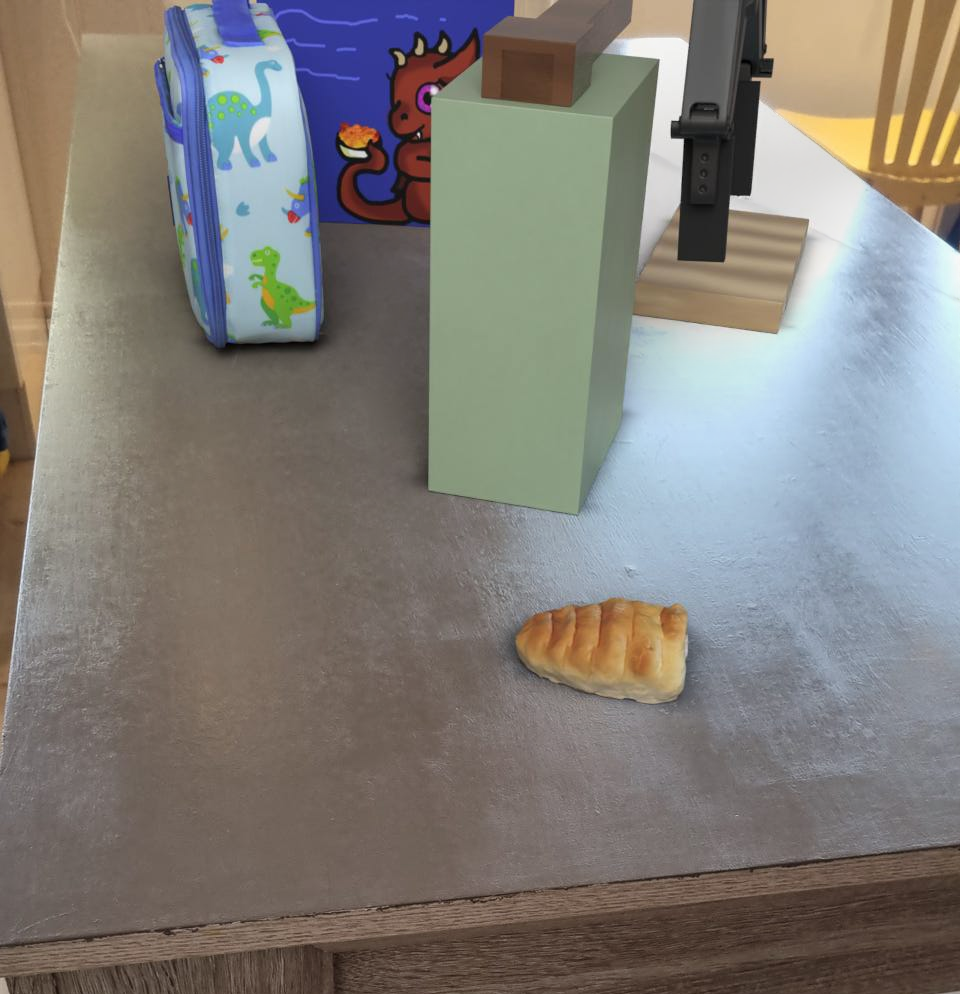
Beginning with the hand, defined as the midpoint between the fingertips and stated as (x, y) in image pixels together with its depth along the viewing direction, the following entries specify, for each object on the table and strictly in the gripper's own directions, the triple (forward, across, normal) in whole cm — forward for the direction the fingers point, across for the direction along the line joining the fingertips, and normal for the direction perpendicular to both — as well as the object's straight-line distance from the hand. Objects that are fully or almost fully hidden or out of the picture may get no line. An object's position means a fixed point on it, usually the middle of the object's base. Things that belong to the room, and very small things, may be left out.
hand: (716, 225), depth 84 cm
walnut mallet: (-9, -1, -9) cm, 13 cm away
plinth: (+14, +4, -11) cm, 18 cm away
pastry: (+15, +28, -1) cm, 32 cm away
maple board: (+14, -35, -3) cm, 38 cm away
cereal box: (+12, -41, -35) cm, 55 cm away
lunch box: (+12, -15, -39) cm, 44 cm away
